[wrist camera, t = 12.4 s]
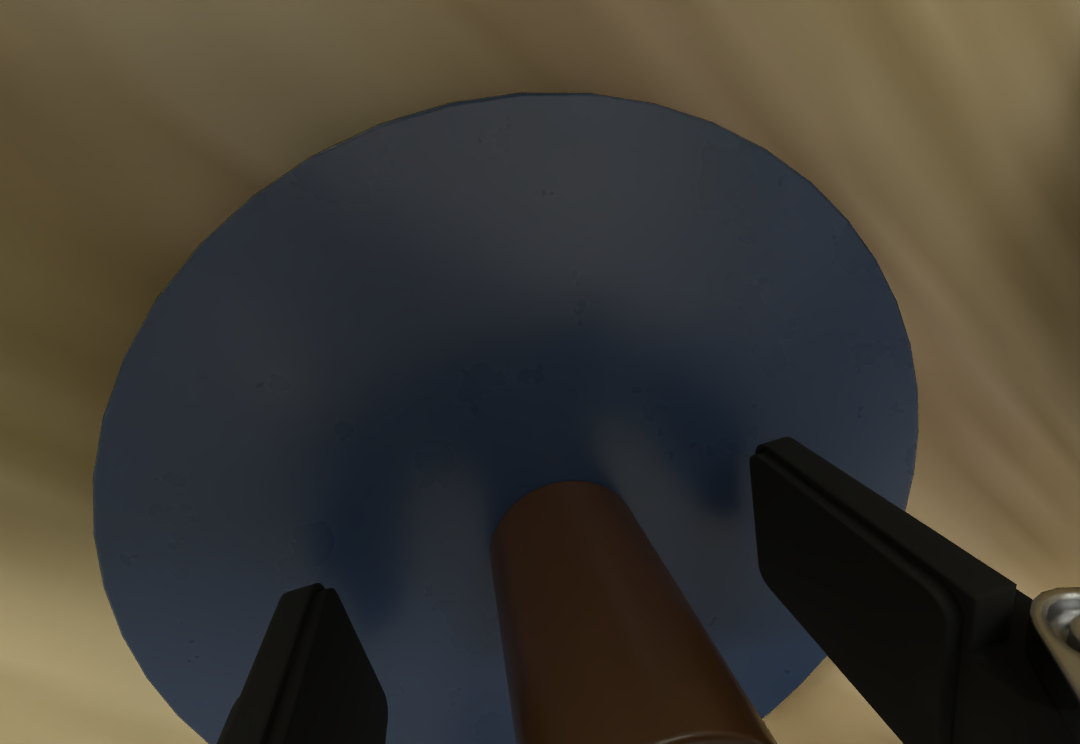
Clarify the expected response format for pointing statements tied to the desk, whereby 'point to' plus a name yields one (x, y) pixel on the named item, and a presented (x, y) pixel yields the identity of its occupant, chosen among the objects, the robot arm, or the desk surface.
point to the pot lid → (501, 423)
